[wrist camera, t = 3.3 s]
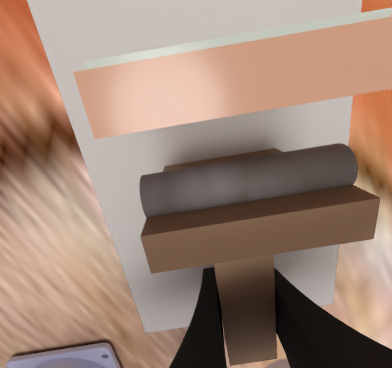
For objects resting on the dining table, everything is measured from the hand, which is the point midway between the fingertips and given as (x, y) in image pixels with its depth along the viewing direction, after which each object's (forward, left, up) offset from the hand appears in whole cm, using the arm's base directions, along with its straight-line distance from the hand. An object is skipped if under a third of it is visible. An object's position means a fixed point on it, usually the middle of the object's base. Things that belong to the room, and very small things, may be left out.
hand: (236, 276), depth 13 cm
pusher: (+3, 0, -1) cm, 3 cm away
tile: (+10, 0, -1) cm, 10 cm away
